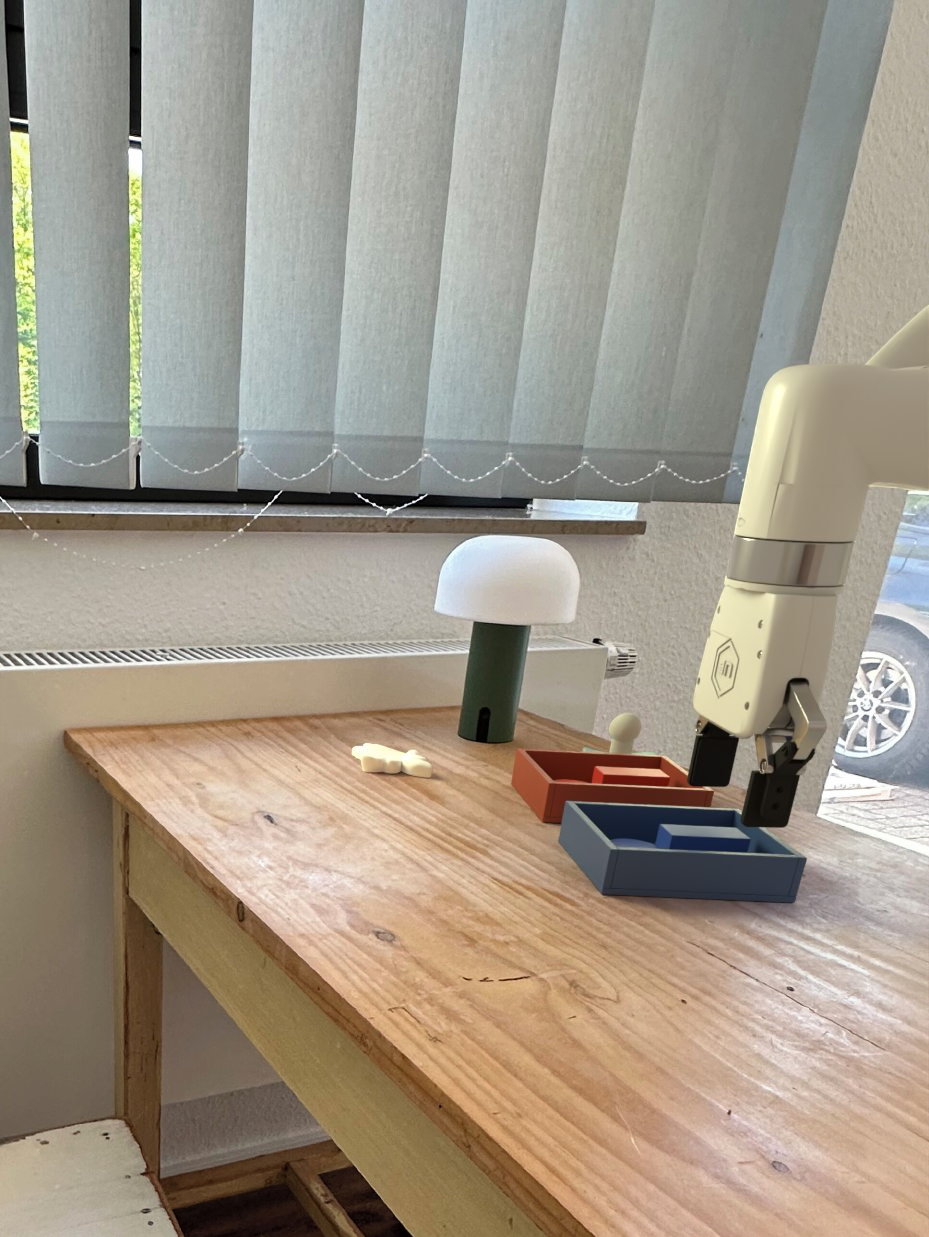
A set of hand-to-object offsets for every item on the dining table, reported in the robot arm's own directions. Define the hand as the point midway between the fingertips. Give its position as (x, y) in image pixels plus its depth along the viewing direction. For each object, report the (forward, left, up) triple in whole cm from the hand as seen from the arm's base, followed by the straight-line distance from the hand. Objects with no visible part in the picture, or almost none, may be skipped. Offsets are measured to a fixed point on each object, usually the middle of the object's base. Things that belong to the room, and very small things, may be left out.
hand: (733, 804), depth 80 cm
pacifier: (-1, -28, -6) cm, 28 cm away
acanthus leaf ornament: (+22, -26, -6) cm, 34 cm away
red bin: (+4, -16, -5) cm, 17 cm away
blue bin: (+4, 0, -5) cm, 7 cm away
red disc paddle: (+4, -16, -5) cm, 17 cm away
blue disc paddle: (+4, 0, -5) cm, 6 cm away
